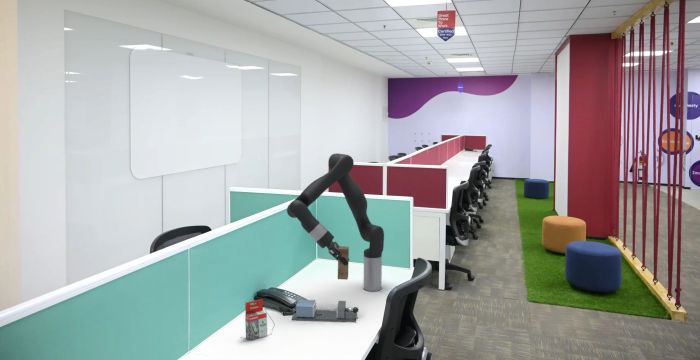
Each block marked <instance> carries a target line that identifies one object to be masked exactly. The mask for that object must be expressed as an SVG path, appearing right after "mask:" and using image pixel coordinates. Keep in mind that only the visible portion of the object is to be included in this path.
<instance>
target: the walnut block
mask: <svg viewBox="0 0 700 360" xmlns="http://www.w3.org/2000/svg"><path fill="white" fill-rule="evenodd" d="M338 250H339V251H340V253H341V254H342V255H343V257H344V258H345V259H346V260H347V261H348V262H349V261H350V256H349V254H350V253H349V252H350V246H343V245H342V246H341V245H339V248H338ZM348 279H349V263H348V264H347V265H346V266H345V265H344V264H343V263H342V262H341V261H340V260H337V280H344V281H345V280H346V281H347V280H348Z"/></svg>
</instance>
